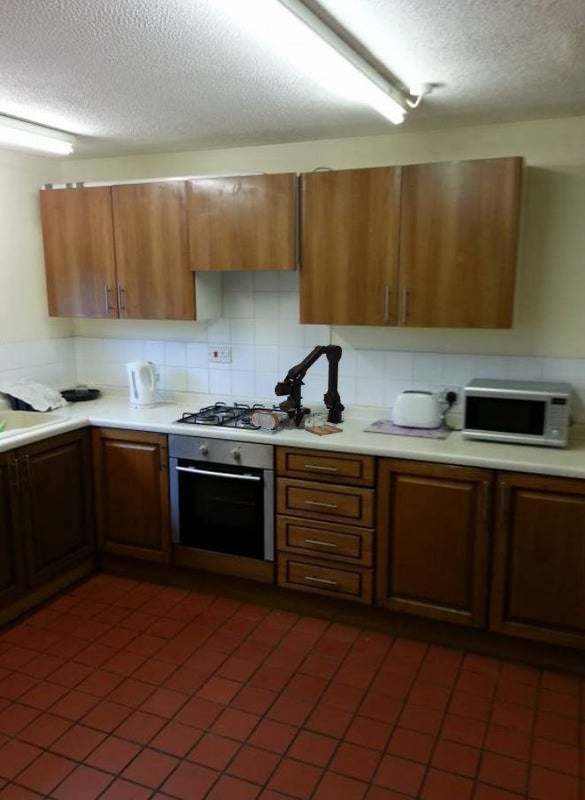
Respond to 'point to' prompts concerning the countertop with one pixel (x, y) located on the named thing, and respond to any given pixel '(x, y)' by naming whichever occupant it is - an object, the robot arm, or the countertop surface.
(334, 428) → the pin tray
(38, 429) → the countertop surface
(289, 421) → the drive
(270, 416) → the tin
